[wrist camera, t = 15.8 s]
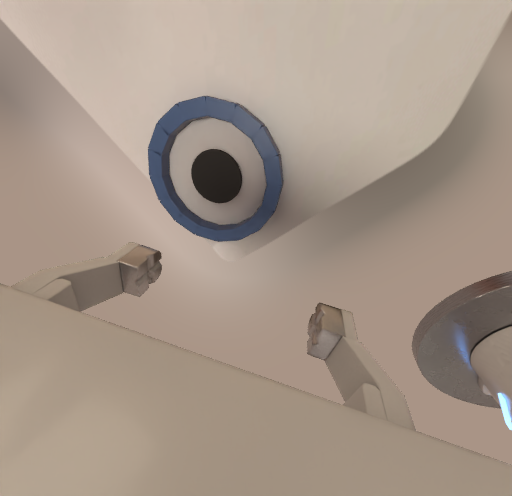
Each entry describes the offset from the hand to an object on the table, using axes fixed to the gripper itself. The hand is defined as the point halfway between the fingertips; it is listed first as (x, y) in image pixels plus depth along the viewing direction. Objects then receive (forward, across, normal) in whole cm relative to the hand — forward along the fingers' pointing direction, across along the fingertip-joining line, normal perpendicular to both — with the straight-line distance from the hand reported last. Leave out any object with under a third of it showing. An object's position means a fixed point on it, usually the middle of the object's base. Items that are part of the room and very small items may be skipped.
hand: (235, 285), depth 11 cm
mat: (+17, +8, 0) cm, 18 cm away
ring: (+17, +7, 0) cm, 18 cm away
